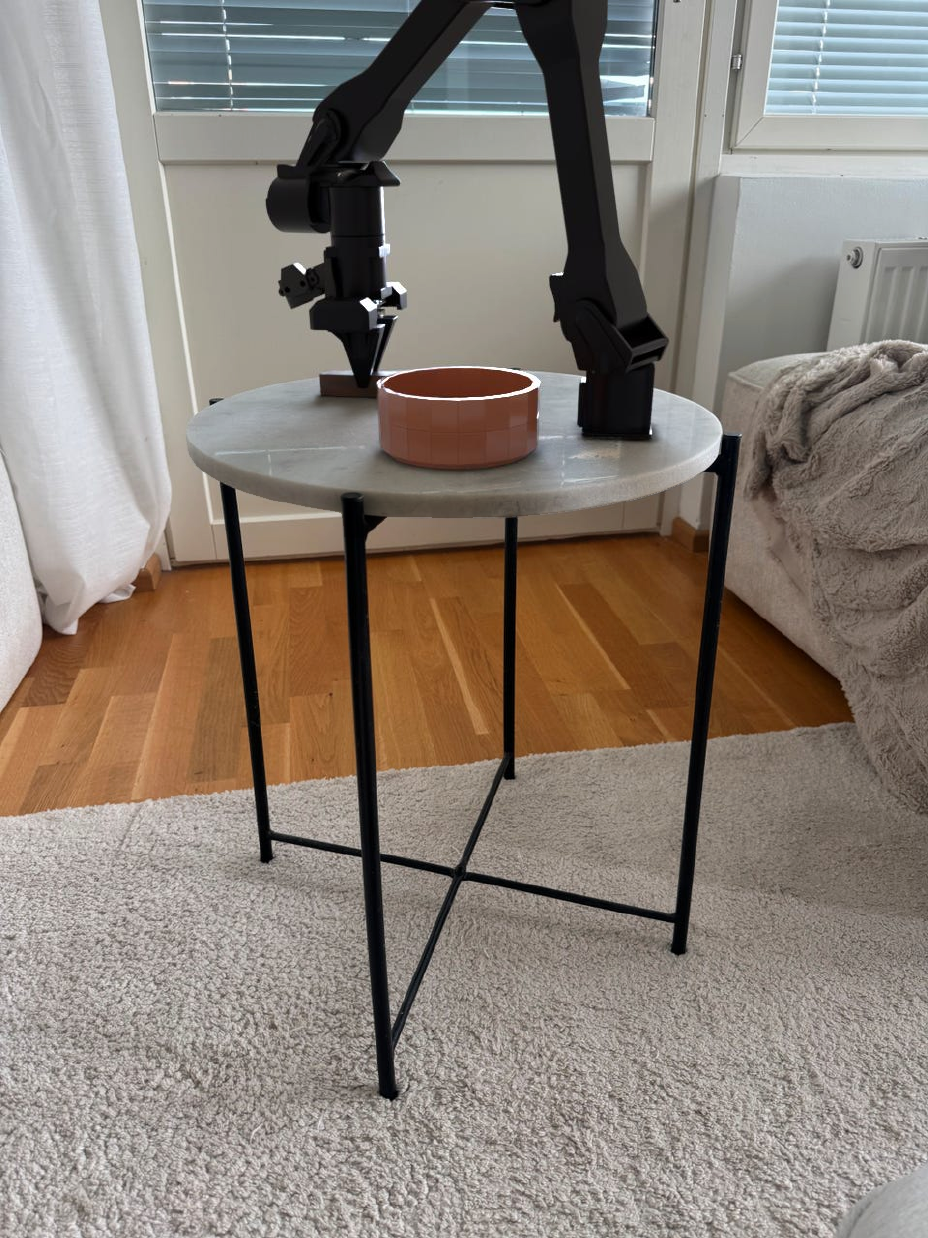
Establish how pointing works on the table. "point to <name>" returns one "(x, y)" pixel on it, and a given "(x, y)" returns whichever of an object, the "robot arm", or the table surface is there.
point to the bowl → (458, 416)
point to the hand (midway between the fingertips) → (365, 385)
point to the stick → (348, 383)
